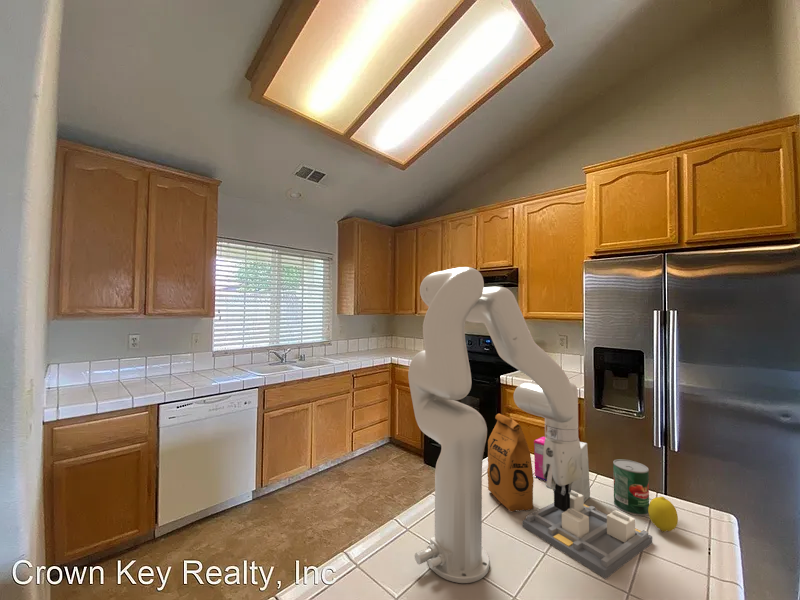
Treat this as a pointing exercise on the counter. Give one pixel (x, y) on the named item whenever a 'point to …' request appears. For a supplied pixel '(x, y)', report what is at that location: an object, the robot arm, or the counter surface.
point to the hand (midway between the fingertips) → (562, 508)
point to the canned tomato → (631, 487)
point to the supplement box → (539, 457)
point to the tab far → (576, 501)
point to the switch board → (587, 539)
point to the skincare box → (583, 483)
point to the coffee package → (510, 465)
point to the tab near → (620, 526)
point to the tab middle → (575, 522)
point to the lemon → (663, 514)
